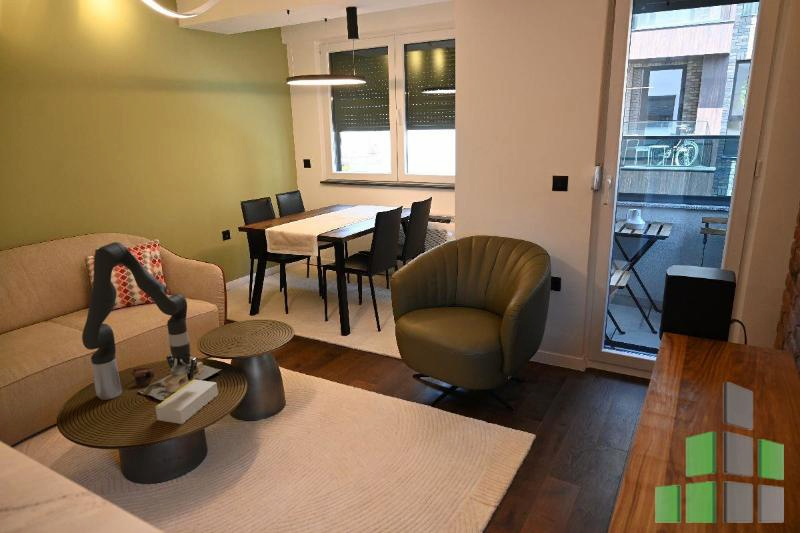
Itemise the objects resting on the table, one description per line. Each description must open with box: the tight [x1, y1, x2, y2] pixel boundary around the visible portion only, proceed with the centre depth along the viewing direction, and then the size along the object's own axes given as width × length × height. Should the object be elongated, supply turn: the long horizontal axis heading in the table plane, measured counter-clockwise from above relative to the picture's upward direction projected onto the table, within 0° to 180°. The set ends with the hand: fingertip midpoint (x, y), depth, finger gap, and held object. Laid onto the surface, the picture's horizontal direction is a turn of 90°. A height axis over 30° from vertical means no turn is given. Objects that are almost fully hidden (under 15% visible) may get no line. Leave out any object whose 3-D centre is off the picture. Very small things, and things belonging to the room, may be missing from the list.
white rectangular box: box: [155, 379, 219, 425], centre depth 215 cm, size 12×24×6 cm, turn 164°
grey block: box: [170, 364, 187, 376], centre depth 208 cm, size 4×4×3 cm
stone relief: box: [137, 364, 222, 401], centre depth 236 cm, size 32×3×20 cm
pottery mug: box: [131, 366, 155, 387], centre depth 238 cm, size 12×10×8 cm
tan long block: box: [163, 361, 204, 392], centre depth 212 cm, size 5×18×4 cm, turn 164°
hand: (184, 378), depth 212 cm, fingers closed on tan long block, 5 cm apart
